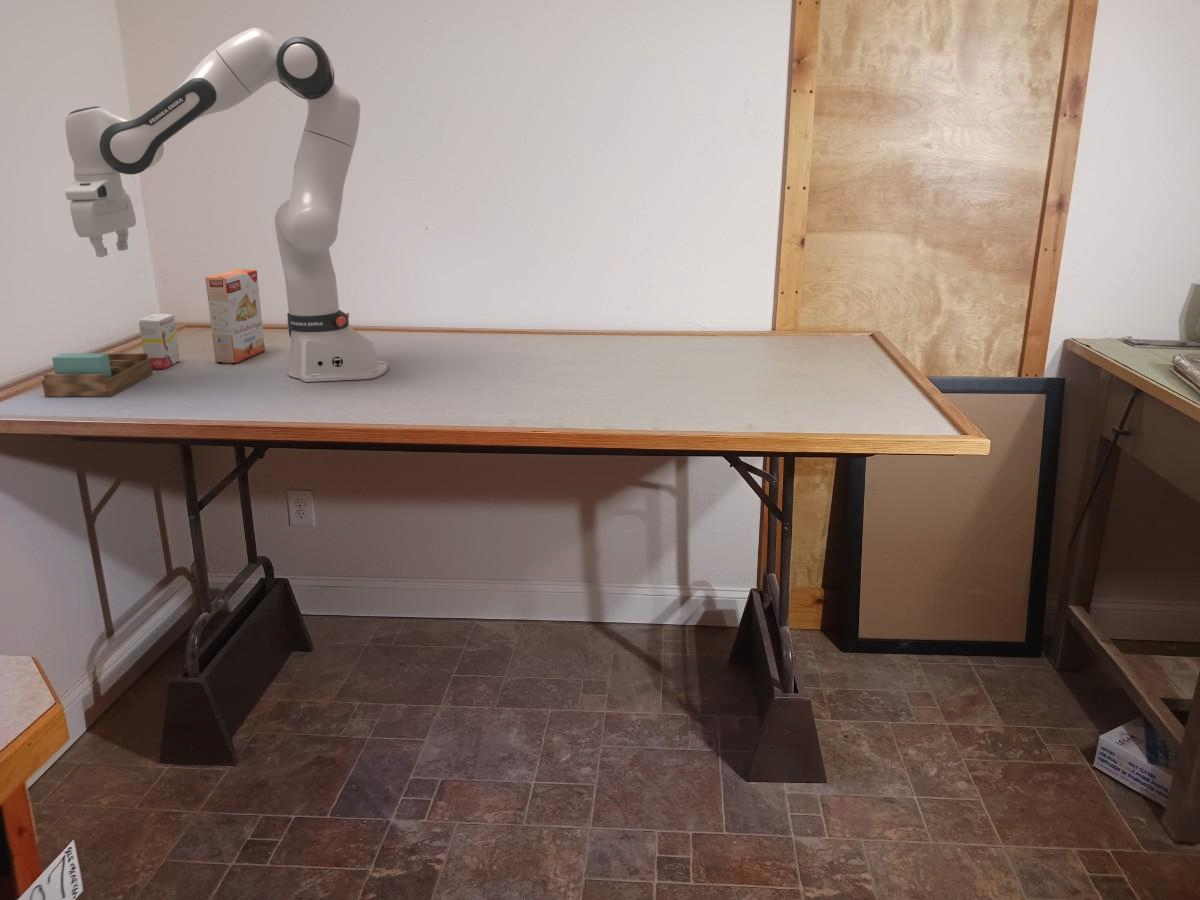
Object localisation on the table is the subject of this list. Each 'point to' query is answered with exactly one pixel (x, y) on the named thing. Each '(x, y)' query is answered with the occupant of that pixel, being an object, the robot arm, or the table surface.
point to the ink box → (160, 340)
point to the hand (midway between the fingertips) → (113, 253)
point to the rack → (101, 377)
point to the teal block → (82, 363)
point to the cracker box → (235, 315)
